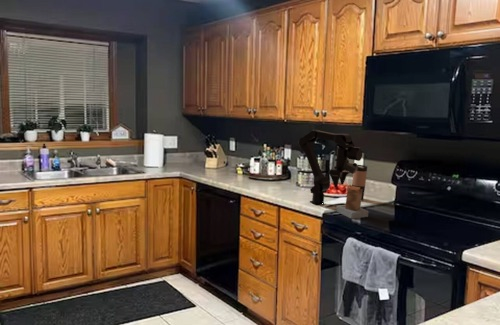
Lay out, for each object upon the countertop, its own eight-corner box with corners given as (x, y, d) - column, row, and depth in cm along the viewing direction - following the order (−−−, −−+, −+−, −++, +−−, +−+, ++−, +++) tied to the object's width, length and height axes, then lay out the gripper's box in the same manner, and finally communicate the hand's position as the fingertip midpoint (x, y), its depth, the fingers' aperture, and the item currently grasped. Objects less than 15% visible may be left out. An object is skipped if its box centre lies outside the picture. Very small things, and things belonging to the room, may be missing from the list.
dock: (336, 211, 236) (337, 206, 235) (352, 209, 241) (353, 204, 240) (351, 218, 225) (351, 212, 225) (367, 216, 230) (368, 211, 230)
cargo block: (349, 192, 230) (350, 187, 230) (352, 191, 234) (352, 186, 233) (357, 194, 228) (357, 188, 228) (359, 193, 231) (360, 187, 231)
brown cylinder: (345, 208, 232) (347, 189, 229) (349, 206, 237) (351, 187, 235) (356, 211, 228) (358, 191, 226) (360, 208, 233) (362, 189, 231)
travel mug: (354, 196, 269) (358, 164, 265) (365, 199, 264) (369, 166, 260) (348, 198, 264) (351, 165, 260) (359, 201, 259) (363, 168, 255)
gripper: (350, 162, 222) (347, 192, 226) (362, 157, 238) (359, 185, 241) (329, 158, 228) (326, 188, 231) (342, 154, 244) (339, 181, 247)
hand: (339, 185), depth 237 cm, fingers open, 9 cm apart
